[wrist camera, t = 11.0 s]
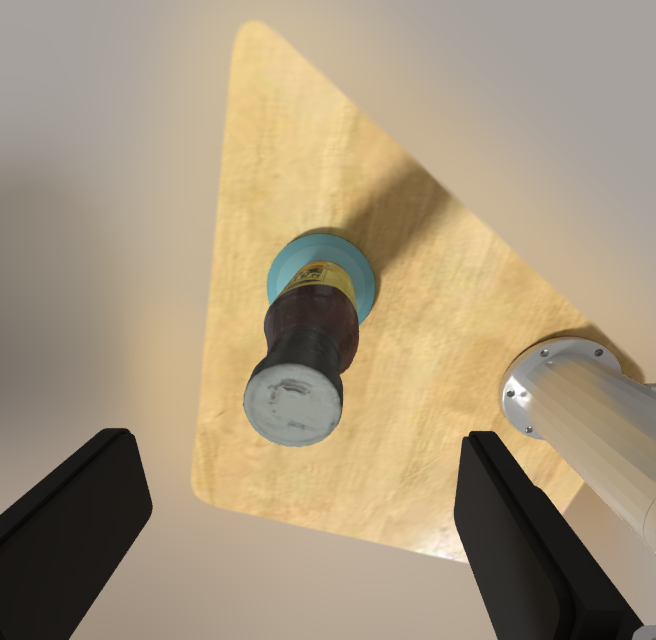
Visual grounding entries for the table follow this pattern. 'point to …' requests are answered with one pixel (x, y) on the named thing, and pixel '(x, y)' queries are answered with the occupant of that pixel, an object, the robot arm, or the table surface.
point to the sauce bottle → (305, 357)
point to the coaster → (325, 250)
